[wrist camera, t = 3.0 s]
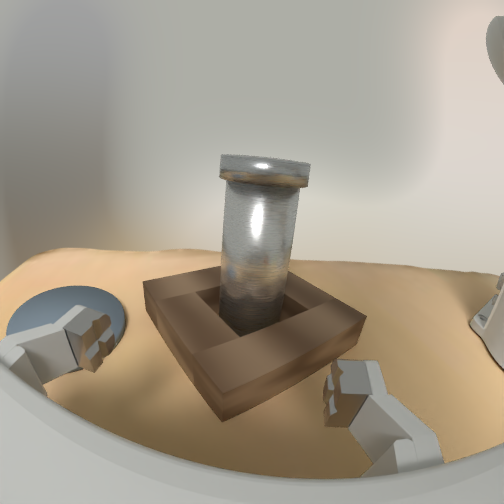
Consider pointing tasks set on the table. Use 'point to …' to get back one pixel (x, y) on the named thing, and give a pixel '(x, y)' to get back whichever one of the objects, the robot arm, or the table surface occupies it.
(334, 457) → the table surface
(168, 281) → the walnut socket block
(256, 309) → the steel plug
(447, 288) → the table surface
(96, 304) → the slate rubber mat
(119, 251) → the table surface
